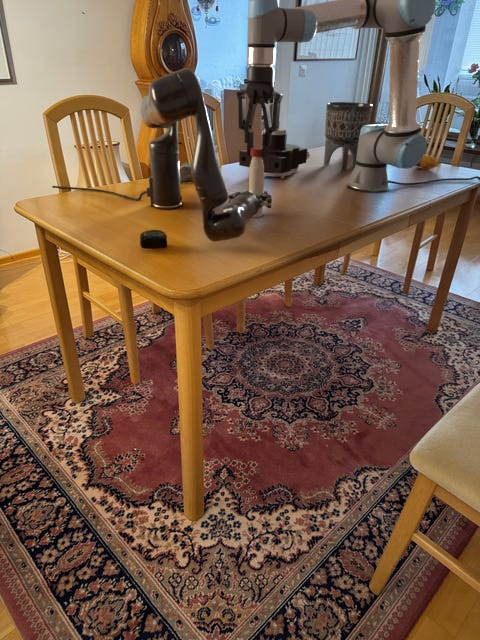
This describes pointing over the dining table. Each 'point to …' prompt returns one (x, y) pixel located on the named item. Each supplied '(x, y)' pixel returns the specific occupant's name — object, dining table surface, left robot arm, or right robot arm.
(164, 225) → the dining table surface
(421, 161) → the toy
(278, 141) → the mechanical component
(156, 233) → the tape measure
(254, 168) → the bottle
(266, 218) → the dining table surface
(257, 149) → the cap
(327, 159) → the planter
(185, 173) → the rock
